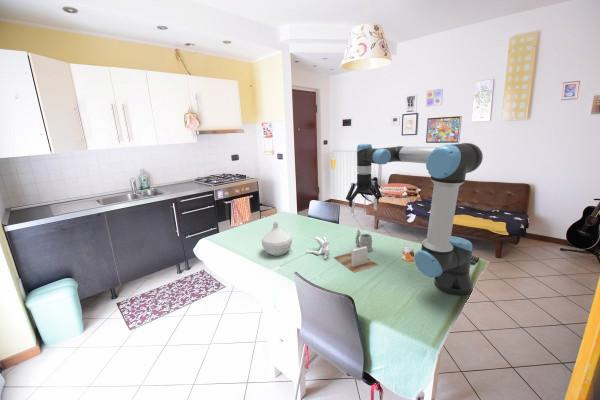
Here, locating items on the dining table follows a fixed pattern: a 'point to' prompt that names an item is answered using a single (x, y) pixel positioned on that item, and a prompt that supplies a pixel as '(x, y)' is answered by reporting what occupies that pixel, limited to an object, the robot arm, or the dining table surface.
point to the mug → (364, 240)
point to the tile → (359, 256)
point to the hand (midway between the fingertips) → (363, 211)
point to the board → (347, 262)
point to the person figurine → (321, 247)
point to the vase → (276, 241)
